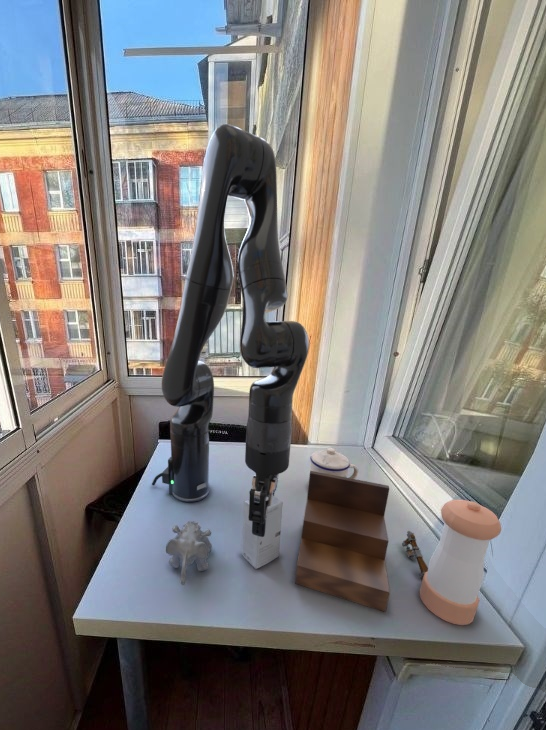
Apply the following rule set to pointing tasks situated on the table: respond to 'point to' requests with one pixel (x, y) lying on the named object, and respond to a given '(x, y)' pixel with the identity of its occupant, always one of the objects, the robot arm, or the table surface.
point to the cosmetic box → (265, 547)
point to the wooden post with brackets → (415, 552)
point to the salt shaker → (459, 561)
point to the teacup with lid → (331, 463)
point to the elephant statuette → (189, 548)
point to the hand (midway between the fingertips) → (263, 520)
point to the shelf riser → (345, 540)
